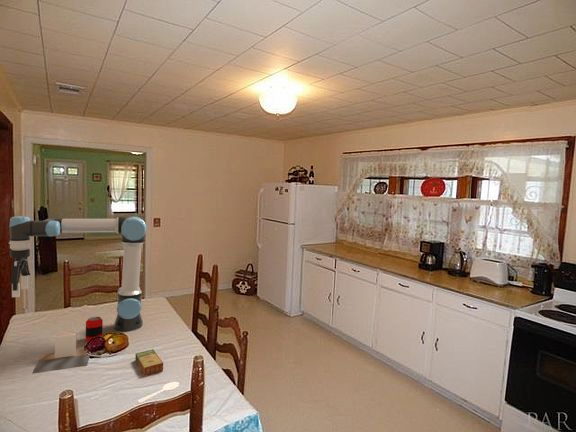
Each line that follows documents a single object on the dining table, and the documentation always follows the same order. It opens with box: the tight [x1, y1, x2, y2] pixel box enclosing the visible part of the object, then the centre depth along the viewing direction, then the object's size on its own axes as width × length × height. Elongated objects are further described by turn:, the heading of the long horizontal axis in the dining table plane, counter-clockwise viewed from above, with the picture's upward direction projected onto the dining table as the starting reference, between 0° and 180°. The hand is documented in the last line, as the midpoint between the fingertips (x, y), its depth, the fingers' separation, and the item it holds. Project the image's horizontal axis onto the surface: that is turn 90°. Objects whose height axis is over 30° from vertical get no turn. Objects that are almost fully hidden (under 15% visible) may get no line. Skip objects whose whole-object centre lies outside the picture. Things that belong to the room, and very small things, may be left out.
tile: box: [54, 332, 77, 358], centre depth 157 cm, size 8×2×10 cm, turn 114°
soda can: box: [85, 316, 104, 343], centre depth 176 cm, size 8×8×12 cm
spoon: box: [137, 381, 180, 404], centre depth 135 cm, size 5×18×1 cm, turn 144°
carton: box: [134, 349, 164, 377], centre depth 155 cm, size 8×16×4 cm, turn 37°
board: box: [31, 348, 91, 375], centre depth 154 cm, size 20×18×1 cm
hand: (20, 292), depth 163 cm, fingers open, 13 cm apart
